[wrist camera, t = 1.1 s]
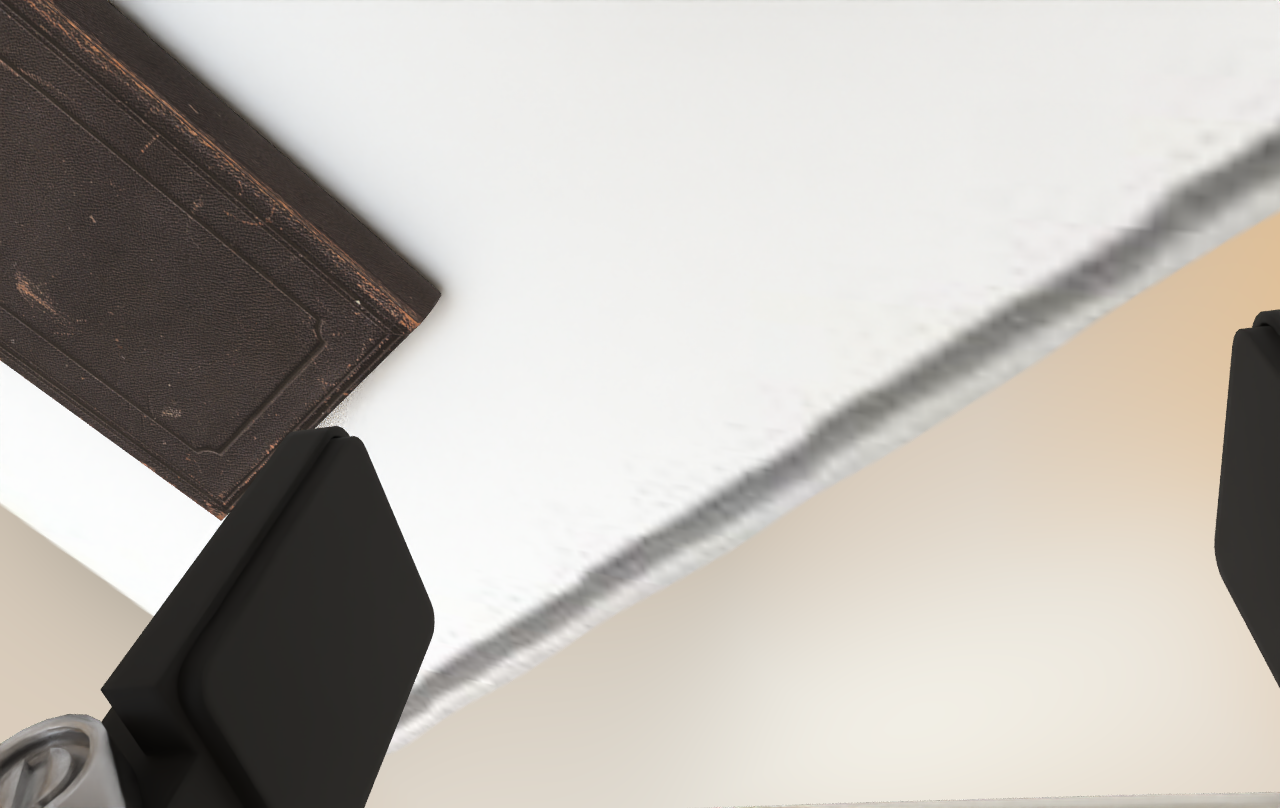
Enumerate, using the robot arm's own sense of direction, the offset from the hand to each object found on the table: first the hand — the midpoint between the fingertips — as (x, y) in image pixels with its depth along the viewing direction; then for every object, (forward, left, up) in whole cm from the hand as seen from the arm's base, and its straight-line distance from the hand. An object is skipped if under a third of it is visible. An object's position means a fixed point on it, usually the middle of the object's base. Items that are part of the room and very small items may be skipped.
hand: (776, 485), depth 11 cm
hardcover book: (+18, -21, -28) cm, 40 cm away
